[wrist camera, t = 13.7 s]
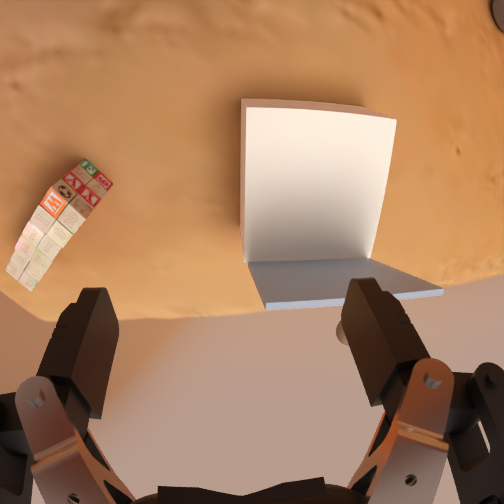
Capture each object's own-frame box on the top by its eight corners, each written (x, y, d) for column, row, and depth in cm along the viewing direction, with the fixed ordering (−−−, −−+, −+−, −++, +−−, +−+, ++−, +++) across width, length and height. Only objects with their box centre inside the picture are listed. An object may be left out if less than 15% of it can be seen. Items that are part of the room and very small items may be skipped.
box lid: (265, 302, 25) (265, 367, 26) (443, 288, 26) (435, 344, 27) (248, 262, 43) (248, 303, 43) (367, 257, 44) (365, 296, 45)
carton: (241, 98, 40) (246, 107, 32) (364, 106, 42) (396, 119, 34) (240, 226, 51) (244, 262, 43) (347, 225, 53) (369, 258, 44)
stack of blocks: (50, 261, 51) (23, 304, 41) (27, 240, 49) (-5, 281, 38) (114, 183, 45) (86, 220, 35) (86, 156, 42) (49, 187, 32)
